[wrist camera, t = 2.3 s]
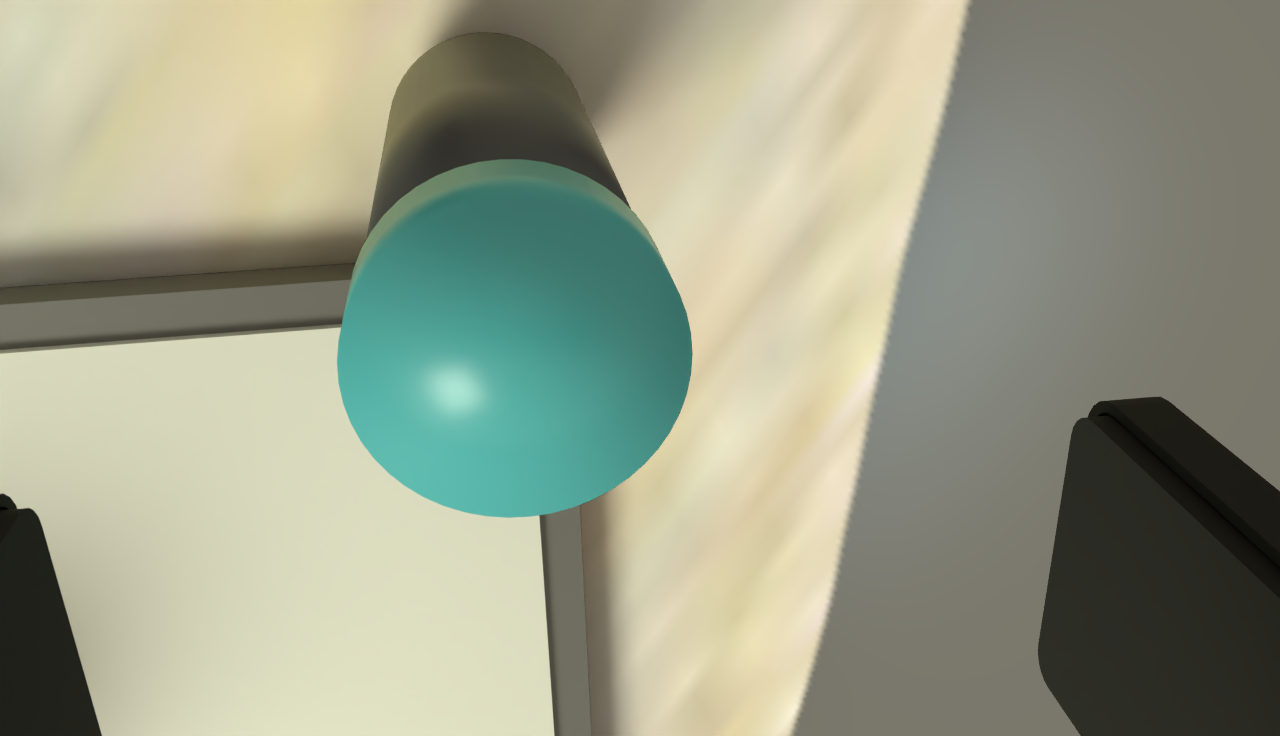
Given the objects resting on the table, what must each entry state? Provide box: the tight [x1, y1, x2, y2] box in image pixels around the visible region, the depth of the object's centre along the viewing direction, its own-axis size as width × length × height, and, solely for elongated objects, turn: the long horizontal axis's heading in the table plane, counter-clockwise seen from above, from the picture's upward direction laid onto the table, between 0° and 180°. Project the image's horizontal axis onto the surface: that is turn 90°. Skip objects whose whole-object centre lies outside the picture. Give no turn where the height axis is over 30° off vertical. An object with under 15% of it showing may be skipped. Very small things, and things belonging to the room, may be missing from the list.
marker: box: [337, 33, 692, 518], centre depth 19 cm, size 4×4×12 cm
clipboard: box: [0, 263, 591, 736], centre depth 29 cm, size 22×15×2 cm
